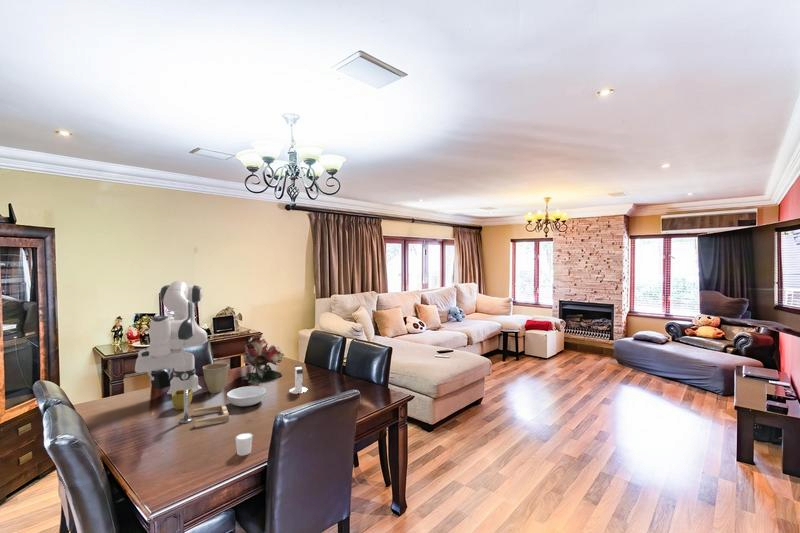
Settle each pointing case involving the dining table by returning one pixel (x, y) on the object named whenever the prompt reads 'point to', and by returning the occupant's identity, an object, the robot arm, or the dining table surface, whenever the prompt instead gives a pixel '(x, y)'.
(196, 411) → the wooden frame
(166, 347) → the robot arm
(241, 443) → the shot glass
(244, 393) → the serving bowl
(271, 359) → the rose bouquet
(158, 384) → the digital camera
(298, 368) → the white post stand
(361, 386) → the dining table surface
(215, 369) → the plant pot
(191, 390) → the flower pot
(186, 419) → the hook post
